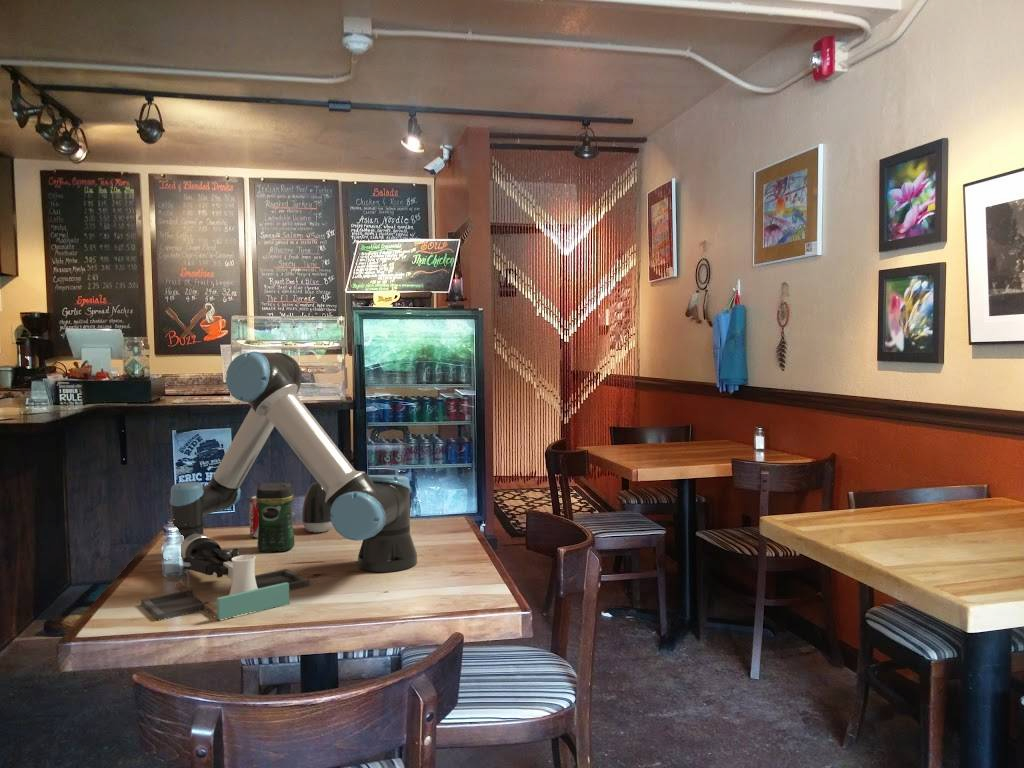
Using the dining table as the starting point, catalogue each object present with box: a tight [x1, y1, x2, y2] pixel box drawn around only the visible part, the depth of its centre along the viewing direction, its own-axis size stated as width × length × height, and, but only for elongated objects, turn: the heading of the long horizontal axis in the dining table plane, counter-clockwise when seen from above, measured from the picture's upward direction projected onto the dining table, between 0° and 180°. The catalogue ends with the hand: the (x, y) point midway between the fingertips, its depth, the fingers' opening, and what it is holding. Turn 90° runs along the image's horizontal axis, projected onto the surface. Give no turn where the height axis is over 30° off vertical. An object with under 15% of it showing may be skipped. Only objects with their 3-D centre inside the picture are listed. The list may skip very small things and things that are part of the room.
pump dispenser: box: [301, 482, 333, 534], centre depth 218 cm, size 10×10×15 cm
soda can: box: [248, 495, 259, 539], centre depth 212 cm, size 7×7×12 cm
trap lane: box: [141, 568, 310, 621], centre depth 159 cm, size 27×33×1 cm
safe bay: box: [216, 582, 290, 620], centre depth 148 cm, size 1×15×4 cm, turn 132°
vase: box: [228, 554, 258, 595], centre depth 153 cm, size 8×8×10 cm
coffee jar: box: [255, 482, 295, 553], centre depth 197 cm, size 10×8×19 cm
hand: (237, 573), depth 155 cm, fingers closed
